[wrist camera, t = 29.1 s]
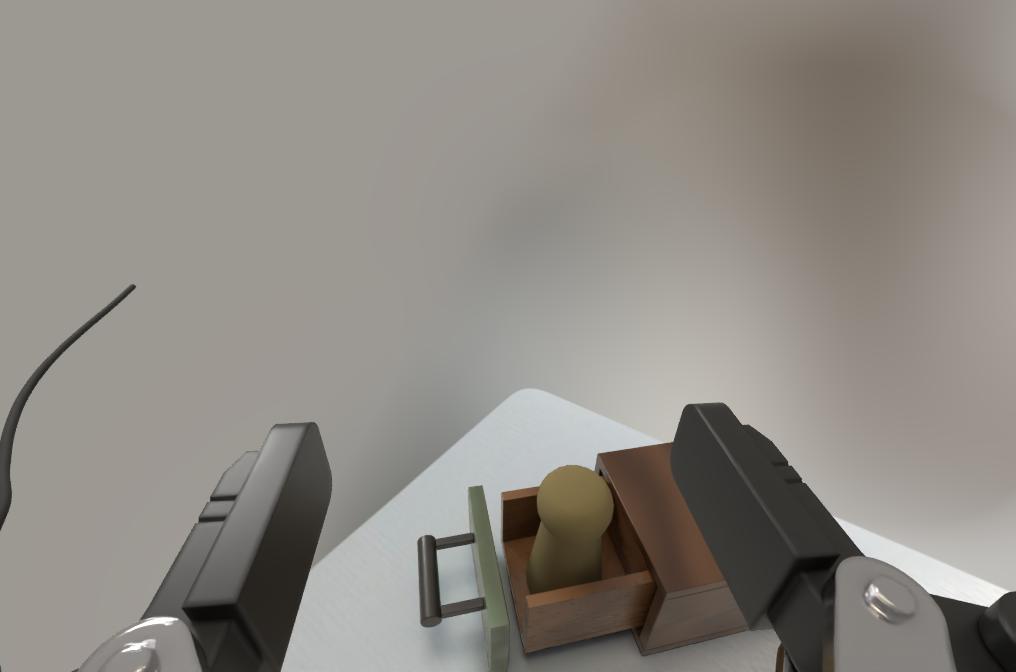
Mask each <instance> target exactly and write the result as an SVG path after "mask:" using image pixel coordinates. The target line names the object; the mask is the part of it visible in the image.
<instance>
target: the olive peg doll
mask: <svg viewBox="0 0 1016 672" xmlns="http://www.w3.org/2000/svg"><path fill="white" fill-rule="evenodd" d="M613 508H614V504H613V498H612V494H611V490H610V489H609V487H608V486H607V484H606V482H605V481H604V480H603V479H602V478H601V477H600V476H599V475H598V474H597V473H596V472H594V471H592V470H590V469H588V468H586V467H582V466H578V465H567V466H563V467H559V468H557V469H556V470H554V471H552V472H551V473H549V474H548V475H547V476H546V477H545V479H544V480H543V481H542V483H541V485H540V488H539V491H538V494H537V509H538V513H539V516H540V519H541V523H540V526H539V530H538V533H537V536H536V539H535V542H534V546H533V549H532V552H531V555H530V559H529V562H528V565H527V569H526V583H527V586H528V589H529V591H530V594H531V595H533V594H538V593H543V592H548V591H552V590H557V589H562V588H567V587H571V586H576V585H581V584H586V583H591V582H595V581H600V580H602V534H603V533H604V532H605V530H606V529H607V527H608V525H609V524H610V522H611V519H612V515H613Z"/></svg>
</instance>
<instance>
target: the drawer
mask: <svg viewBox="0 0 1016 672" xmlns="http://www.w3.org/2000/svg"><path fill="white" fill-rule="evenodd" d="M600 477H601V478H602V479H603V480H604V481H605V482H606V484H607V486H608V483H607V481H606V479H605V477H604V476H600ZM608 487H609V486H608ZM539 488H540V486H539V487H532V488H526V489H520V490H514V491H508V492H502V493H501V543H502V547H503V552H504V557H505V561H506V566H507V571H508V576H509V580H510V585H511V590H512V595H513V599H514V604H515V609H516V614H517V618H518V623H519V628H520V632H521V637H522V642H523V647H524V651H525V653H528V652H533V651H537V650H541V649H545V648H550V647H554V646H558V645H562V644H567V643H571V642H575V641H580V640H584V639H588V638H592V637H597V636H601V635H605V634H610V633H614V632H618V631H622V630H627V629H631V628H635V627H640V626H644V623H645V620H646V618H647V615H648V612H649V610H650V607H651V604H652V601H653V599H654V596H655V593H656V591H657V588H658V586H657V584H656V582H655V580H654V578H653V576H652V574H651V572H650V570H649V568H648V566H647V564H646V561H645V559H644V557H643V555H642V553H641V551H640V549H639V547H638V545H637V543H636V541H635V539H634V537H633V535H632V533H631V531H630V529H629V527H628V525H627V522H626V520H625V518H624V516H623V514H622V512H621V510H620V508H619V506H618V504H617V502H616V500H615V498H614V496H613V494H612V492H611V494H612V498H613V504H614V508H613V515H612V519H611V522H610V524H609V525H608V527H607V529H606V530H605V532H604V533H603V534H602V580H600V581H595V582H591V583H586V584H581V585H576V586H571V587H567V588H562V589H557V590H552V591H548V592H543V593H538V594H533V595H531V594H530V591H529V589H528V586H527V583H526V569H527V565H528V562H529V559H530V555H531V552H532V549H533V546H534V542H535V539H536V536H537V533H538V530H539V526H540V523H541V519H540V516H539V513H538V509H537V494H538V491H539ZM609 489H610V488H609ZM468 503H469V523H470V533H468V534H462V535H457V536H451V537H445V538H440V539H435V537H434V536H431V535H425V536H422V537H421V538H419V539H418V542H417V544H418V569H419V595H420V620H421V625H422V626H423V627H434V626H436V625H438V624H440V623H441V621H442V618H447V617H452V616H457V615H462V614H466V613H471V612H476V611H481V614H482V621H483V628H484V635H485V641H486V648H487V655H488V662H489V668H490V672H508V651H509V619H508V614H507V609H506V604H505V598H504V593H503V588H502V583H501V578H500V573H499V568H498V563H497V557H496V552H495V547H494V542H493V537H492V532H491V527H490V522H489V516H488V511H487V506H486V501H485V496H484V491H483V486H482V485H481V486H475V487H468ZM467 544H471V547H472V554H473V561H474V567H475V574H476V581H477V587H478V594H479V598H476V599H472V600H467V601H462V602H457V603H452V604H447V605H442V606H441V602H440V589H439V576H438V563H437V550H440V549H445V548H451V547H456V546H462V545H467ZM436 549H437V550H436Z"/></svg>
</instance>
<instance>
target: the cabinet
mask: <svg viewBox="0 0 1016 672" xmlns="http://www.w3.org/2000/svg"><path fill="white" fill-rule="evenodd" d="M672 445H673V442H671V443H664V444H658V445H651V446H645V447H638V448H632V449H625V450H619V451H612V452H606V453H599V454H598V455H597V460H596V466H595V471H594V472H596V473H597V474H598V475H599V476H604V477H605V479H606V481H607V483H608V486H609V488H610V490H611V492H612V494H613V496H614V498H615V500H616V502H617V504H618V506H619V508H620V510H621V512H622V514H623V516H624V518H625V520H626V522H627V525H628V527H629V529H630V531H631V533H632V535H633V537H634V539H635V541H636V543H637V545H638V547H639V549H640V551H641V553H642V555H643V557H644V559H645V561H646V564H647V566H648V568H649V570H650V572H651V574H652V576H653V578H654V580H655V582H656V584H657V586H658V588H657V591H656V593H655V596H654V599H653V601H652V604H651V607H650V610H649V612H648V615H647V618H646V620H645V623H644V626H640V627H635V628H631V630H632V632H633V635H634V637H635V640H636V642H637V645H638V647H639V650H640V652H641V655H642V656H645V655H649V654H653V653H657V652H661V651H665V650H669V649H673V648H677V647H681V646H685V645H689V644H693V643H697V642H701V641H705V640H710V639H714V638H718V637H722V636H726V635H730V634H734V633H738V632H742V631H746V630H750V628H749V626H748V624H747V622H746V620H745V618H744V616H743V614H742V612H741V610H740V608H739V607H738V605H737V603H736V601H735V599H734V597H733V595H732V593H731V591H730V589H729V587H728V585H727V583H726V581H725V579H724V577H723V575H722V573H721V571H720V569H719V567H718V565H717V563H716V561H715V559H714V557H713V555H712V553H711V551H710V549H709V547H708V545H707V543H706V541H705V539H704V537H703V535H702V533H701V531H700V530H699V528H698V526H697V524H696V522H695V520H694V518H693V516H692V514H691V512H690V510H689V508H688V506H687V504H686V502H685V500H684V498H683V496H682V494H681V492H680V490H679V488H678V486H677V484H676V482H675V480H674V478H673V475H672V472H671V467H670V452H671V448H672Z"/></svg>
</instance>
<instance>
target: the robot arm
mask: <svg viewBox="0 0 1016 672" xmlns="http://www.w3.org/2000/svg"><path fill="white" fill-rule="evenodd" d="M135 288H136V286H135V285H134V284H131V285H130V286H129V287H127V289H125V290H124V291H123V292H122V293H121V294H120V295H119V296H117V297H116V298H115V299H114V300H113V301H112V302H111V303H110V304H108V305H107V306H106V307H105V308H104V309H102V310H101V311H100V312H98V313H97V314H96V315H95V316H94V317H92V318H91V319H90V320H89V321H87V322H86V323H85V324H84V325H83V326H82V327H80V328H79V329H78V330H77V331H76V332H74V333H73V334H72V335H71V336H70V337H69V338H68V339H66V340H65V341H64V342H63V343H62V344H61V345H60V346H59V347H58V348H57V349H56V350H55V351H54V352H53V353H52V354H51V355H50V356H49V357H48V358H47V359H46V360H45V361H44V362H43V363H42V364H41V365H40V367H38V369H37V370H36V371H35V372H34V373H33V375H32V376H31V377H30V378H29V380H28V381H27V383H26V384H25V385H24V387H23V388H22V390H21V391H20V393H19V395H18V397H17V398H16V400H15V402H14V404H13V406H12V408H11V410H10V413H9V415H8V418H7V421H6V423H5V426H4V429H3V432H2V437H1V440H0V530H1V528H2V525H3V523H4V521H5V519H6V516H7V514H8V511H9V508H10V504H11V498H12V490H11V481H10V464H11V454H12V446H13V440H14V435H15V431H16V428H17V424H18V421H19V418H20V415H21V413H22V410H23V408H24V406H25V403H26V401H27V400H28V397H29V396H30V394H31V393H32V391H33V389H34V388H35V386H36V385H37V383H38V381H39V380H40V379H41V378H42V376H43V375H44V374H45V372H46V371H47V370H48V369H49V368H50V367H51V365H52V364H53V363H54V362H55V361H56V360H57V359H58V358H59V357H60V356H61V355H62V354H63V352H65V351H66V350H67V349H68V348H69V347H70V346H71V345H72V344H73V343H74V342H75V341H76V340H78V339H79V338H80V337H81V336H82V335H83V334H84V333H85V332H87V331H88V330H89V329H90V328H91V327H92V326H93V325H95V324H96V323H97V322H98V321H99V320H100V319H102V318H103V317H104V316H105V315H107V314H108V313H109V312H110V311H111V310H112V309H113V308H115V307H116V306H117V305H118V304H119V303H120V302H121V301H122V300H123V299H125V298H126V297H127V296H128V295H129V294H130V293H131V292H132V291H133V290H134V289H135ZM670 467H671V472H672V475H673V478H674V480H675V482H676V484H677V486H678V488H679V490H680V492H681V494H682V496H683V498H684V500H685V502H686V504H687V506H688V508H689V510H690V512H691V514H692V516H693V518H694V520H695V522H696V524H697V526H698V528H699V530H700V531H701V533H702V535H703V537H704V539H705V541H706V543H707V545H708V547H709V549H710V551H711V553H712V555H713V557H714V559H715V561H716V563H717V565H718V567H719V569H720V571H721V573H722V575H723V577H724V579H725V581H726V583H727V585H728V587H729V589H730V591H731V593H732V595H733V597H734V599H735V601H736V603H737V605H738V607H739V608H740V610H741V612H742V614H743V616H744V618H745V620H746V622H747V624H748V626H749V628H750V630H751V631H756V630H766V629H774V630H775V631H776V633H777V635H778V637H779V639H780V640H781V642H782V643H781V644H780V646H779V648H778V652H777V661H776V672H1016V591H1015V592H1009V593H1006V594H1004V595H1003V596H1002V597H1001V598H999V599H998V600H997V601H996V602H995V603H994V604H992V605H991V606H990V607H984V606H980V605H976V604H971V603H967V602H963V601H958V600H954V599H950V598H945V597H941V596H937V595H932V594H929V593H928V592H927V591H926V590H925V589H924V588H923V587H922V586H921V585H920V584H918V583H917V582H916V581H915V580H914V579H912V578H911V577H910V576H908V575H907V574H905V573H904V572H902V571H901V570H899V569H897V568H896V567H894V566H892V565H890V564H888V563H885V562H883V561H880V560H877V559H874V558H870V557H866V556H865V555H864V554H863V553H862V552H861V551H860V550H859V549H858V547H857V546H856V545H855V544H854V542H853V541H852V540H851V539H850V538H849V536H848V535H847V534H846V533H845V531H844V530H843V529H842V528H841V526H840V525H839V524H838V523H837V521H836V520H835V519H834V518H833V517H832V515H831V514H830V513H829V512H828V510H827V509H826V508H825V507H824V506H823V504H822V503H821V502H820V500H819V499H818V498H817V497H816V495H815V494H814V493H813V492H812V491H811V489H810V488H809V487H808V486H807V484H806V483H803V482H802V478H801V477H800V476H799V474H798V473H797V472H796V471H795V470H794V468H793V467H792V466H789V465H788V461H787V460H786V458H785V457H784V456H783V455H782V453H781V452H780V451H779V450H778V449H777V447H776V446H775V445H774V444H773V442H772V441H770V440H769V439H768V438H766V437H765V436H763V435H762V434H761V433H760V432H758V431H757V430H755V429H754V428H753V427H751V426H750V425H742V424H741V423H740V422H739V420H738V419H737V418H736V416H735V415H734V414H733V412H732V411H731V410H730V409H729V407H728V406H727V405H725V404H724V403H702V404H688V405H686V406H685V408H684V409H683V412H682V415H681V418H680V422H679V425H678V428H677V432H676V435H675V438H674V442H673V445H672V448H671V452H670ZM331 492H332V475H331V470H330V466H329V463H328V459H327V456H326V453H325V449H324V446H323V442H322V439H321V435H320V432H319V429H318V426H317V425H316V423H314V422H309V423H289V424H276V425H274V426H273V427H272V428H271V430H270V432H269V434H268V436H267V438H266V440H265V442H264V444H263V446H262V448H261V450H260V451H249V452H245V454H243V455H242V456H241V457H240V458H239V459H238V460H237V461H236V462H235V463H234V464H233V465H232V466H231V467H230V468H229V469H227V471H225V472H224V474H223V476H222V477H221V479H220V481H219V482H218V484H217V486H216V488H215V490H214V492H213V493H212V495H211V497H210V502H207V504H206V506H205V508H204V509H203V511H202V513H201V515H200V516H199V522H198V523H197V524H195V525H194V527H193V529H192V530H191V532H190V534H189V536H188V538H187V539H186V541H185V543H184V545H183V546H182V549H181V550H180V552H179V554H178V555H177V557H176V559H175V561H174V562H173V564H172V566H171V568H170V570H169V571H168V573H167V575H166V577H165V578H164V580H163V582H162V584H161V586H160V587H159V589H158V591H157V593H156V594H155V596H154V598H153V600H152V602H151V603H150V605H149V607H148V608H147V610H146V611H145V613H144V615H143V616H142V617H141V619H140V620H139V621H138V622H136V623H134V624H132V625H130V626H128V627H126V628H124V629H122V630H121V631H119V632H118V633H116V634H115V635H113V636H112V637H111V638H109V639H108V640H107V641H106V642H104V643H103V644H102V645H101V646H100V647H98V648H97V649H96V650H95V651H94V652H93V653H92V654H91V655H90V656H89V657H88V659H87V660H86V661H85V662H84V663H83V665H82V666H81V667H80V668H79V669H76V670H74V671H72V672H281V668H282V665H283V661H284V658H285V654H286V651H287V648H288V644H289V641H290V637H291V634H292V630H293V627H294V623H295V620H296V616H297V613H298V610H299V606H300V603H301V599H302V596H303V592H304V589H305V585H306V582H307V578H308V575H309V572H310V568H311V565H312V561H313V557H314V554H315V551H316V547H317V544H318V540H319V537H320V533H321V530H322V527H323V523H324V520H325V516H326V513H327V509H328V506H329V502H330V498H331Z"/></svg>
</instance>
